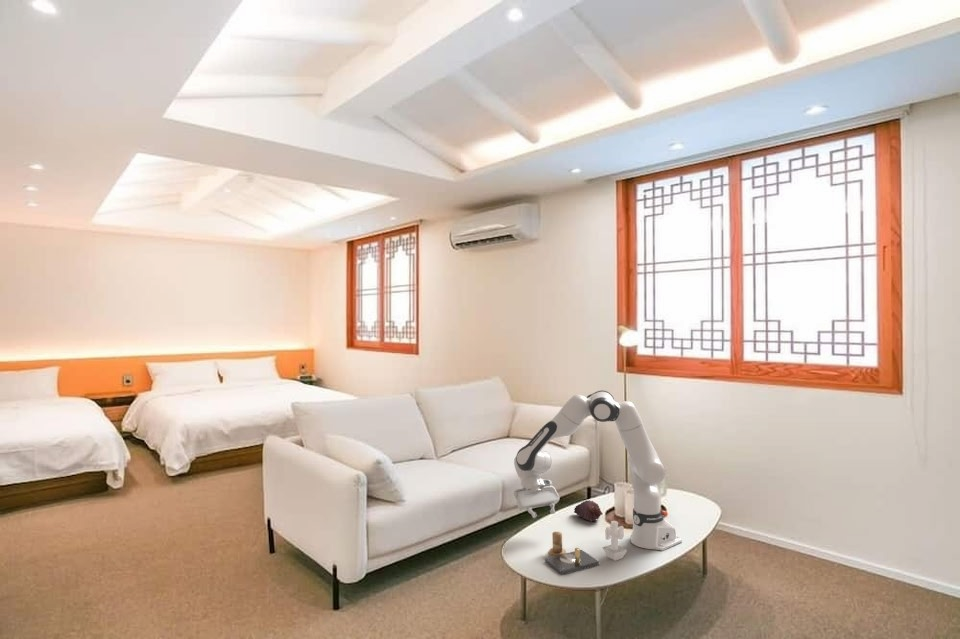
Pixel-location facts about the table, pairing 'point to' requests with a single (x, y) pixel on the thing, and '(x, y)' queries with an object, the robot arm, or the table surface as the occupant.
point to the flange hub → (557, 545)
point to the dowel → (577, 556)
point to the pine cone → (588, 510)
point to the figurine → (614, 541)
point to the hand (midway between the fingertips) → (544, 515)
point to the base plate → (571, 562)
